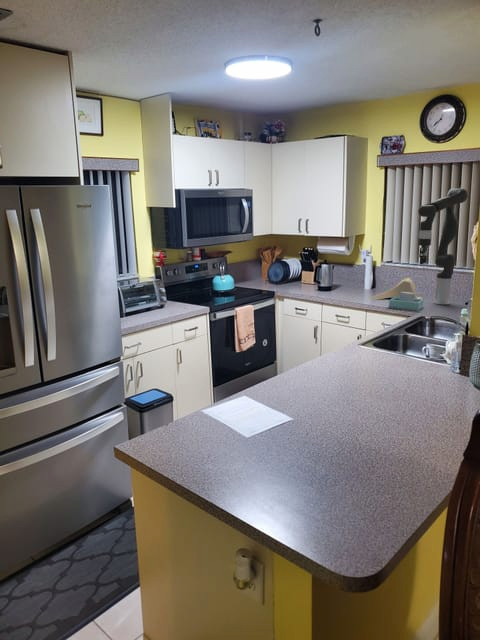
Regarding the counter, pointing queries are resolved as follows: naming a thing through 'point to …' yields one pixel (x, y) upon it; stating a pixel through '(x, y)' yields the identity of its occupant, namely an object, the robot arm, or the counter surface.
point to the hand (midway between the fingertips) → (422, 263)
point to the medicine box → (406, 296)
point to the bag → (398, 290)
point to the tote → (406, 304)
